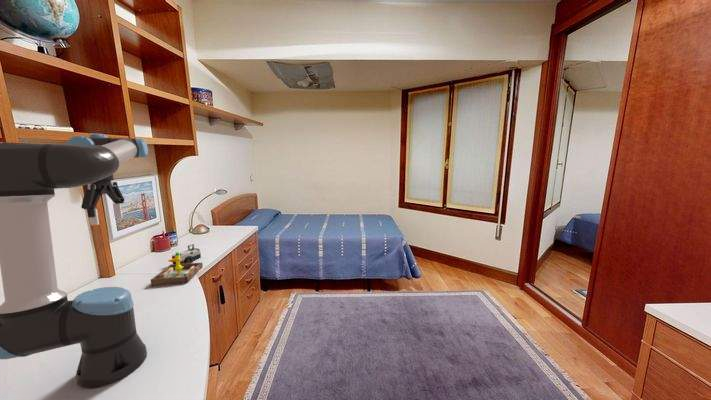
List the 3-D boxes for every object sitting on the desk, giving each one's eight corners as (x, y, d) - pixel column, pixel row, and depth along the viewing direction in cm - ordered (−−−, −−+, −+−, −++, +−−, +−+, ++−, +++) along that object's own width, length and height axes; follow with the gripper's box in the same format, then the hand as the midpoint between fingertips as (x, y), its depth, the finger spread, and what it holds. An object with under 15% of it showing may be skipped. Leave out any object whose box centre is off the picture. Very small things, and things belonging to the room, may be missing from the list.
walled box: (187, 283, 128) (187, 277, 127) (151, 286, 125) (150, 279, 125) (202, 268, 146) (202, 262, 146) (171, 270, 144) (170, 264, 143)
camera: (180, 268, 146) (178, 251, 145) (171, 266, 149) (169, 250, 147) (204, 259, 160) (202, 243, 159) (195, 257, 163) (193, 242, 161)
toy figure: (168, 277, 133) (166, 254, 131) (171, 274, 136) (168, 252, 134) (183, 275, 135) (181, 253, 133) (185, 272, 138) (183, 251, 136)
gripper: (85, 172, 97) (94, 227, 100) (130, 170, 121) (136, 214, 124) (62, 172, 95) (71, 228, 98) (112, 170, 120) (118, 215, 123)
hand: (107, 221), depth 111 cm, fingers open, 13 cm apart
